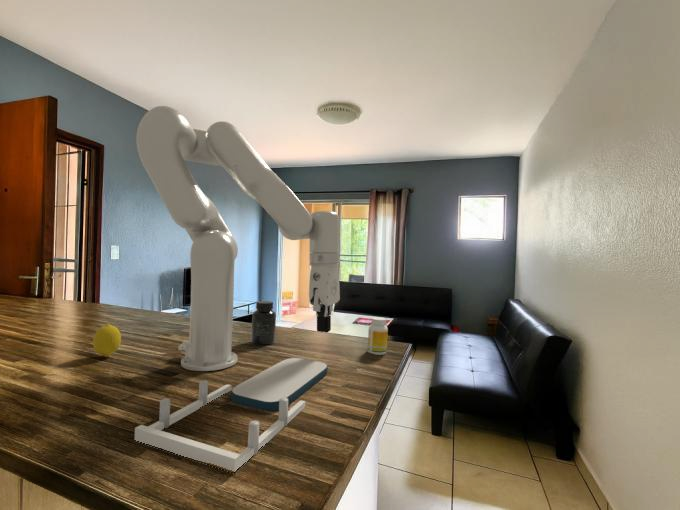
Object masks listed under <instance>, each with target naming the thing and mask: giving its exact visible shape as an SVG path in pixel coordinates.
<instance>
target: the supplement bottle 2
mask: <svg viewBox="0 0 680 510" xmlns="http://www.w3.org/2000/svg"><path fill="white" fill-rule="evenodd" d="M386 324H387V319H386V318H385V317H380V316H374V317H371V324H370V325H369V326H368V335H367V337H368V339H367V352H368V353H369V354H372V355H378V356H381V355H386V354H387V350H388V335H389V334H388V333H389V329H388V326H387V325H386Z"/></svg>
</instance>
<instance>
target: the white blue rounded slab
mask: <svg viewBox="0 0 680 510" xmlns="http://www.w3.org/2000/svg"><path fill="white" fill-rule="evenodd" d="M328 370H329V367H328V364H327V363H325V362H323V361H317V360H312V359H306V358H301V357H291V358H289V357H288V358H286V359H283V360H281V361H279V362H277V363H276V364H274V365H272V366H270V367H268V368H266V369H265V370H262V371H261V372H259V373H256V374H255V375H253V376H252V377H250V378H248V379H245V380H244V381H242V382H240V383H238V384H237V385H235V386H234V387H233V388H231V392H230V400H231V401H232V402H233V403H234V402H235V404H236V403H238V404H237V405H240V404H241V405H240V406H244V407H248V408H251V407H252V409H255V408H256V410H259V409H261V410H260V411H264V410H266V411H265V412H275V411H279V400H280V399H281V398H288V406H289V405H291V404H292V403H293V402H295V400H297V399H298V398H299V397H300V396H302V395H303V394H304V393H306V392H307V391H308V390H309V389H310V388H312V387H313V386H314V385H315V384H317V383H318V382H319V381H320V380H322V379H323V378H324V377H326V376H327V374H328ZM317 374H318V375H317Z"/></svg>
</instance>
